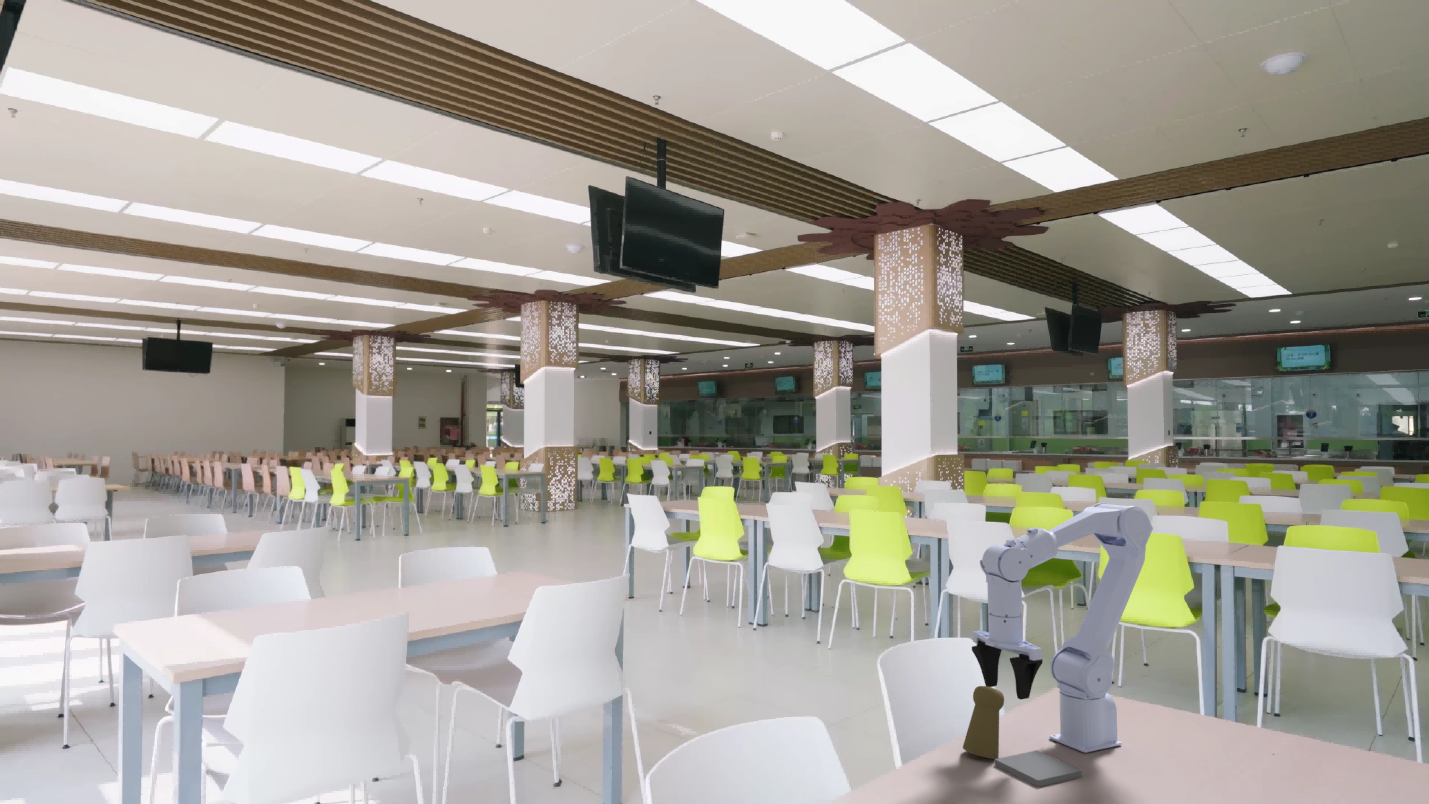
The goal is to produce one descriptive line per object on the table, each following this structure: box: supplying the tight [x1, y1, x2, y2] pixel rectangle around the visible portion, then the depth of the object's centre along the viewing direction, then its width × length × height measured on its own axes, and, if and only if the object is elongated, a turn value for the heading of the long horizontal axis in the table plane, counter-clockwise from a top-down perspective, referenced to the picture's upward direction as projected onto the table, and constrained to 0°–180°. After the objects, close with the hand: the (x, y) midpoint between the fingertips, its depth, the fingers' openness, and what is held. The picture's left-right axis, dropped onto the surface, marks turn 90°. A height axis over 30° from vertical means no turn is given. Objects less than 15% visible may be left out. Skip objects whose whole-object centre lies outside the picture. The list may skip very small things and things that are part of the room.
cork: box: [962, 685, 1005, 760], centre depth 141 cm, size 6×6×11 cm
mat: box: [994, 750, 1083, 788], centre depth 134 cm, size 10×10×1 cm
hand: (1006, 692), depth 143 cm, fingers open, 7 cm apart
